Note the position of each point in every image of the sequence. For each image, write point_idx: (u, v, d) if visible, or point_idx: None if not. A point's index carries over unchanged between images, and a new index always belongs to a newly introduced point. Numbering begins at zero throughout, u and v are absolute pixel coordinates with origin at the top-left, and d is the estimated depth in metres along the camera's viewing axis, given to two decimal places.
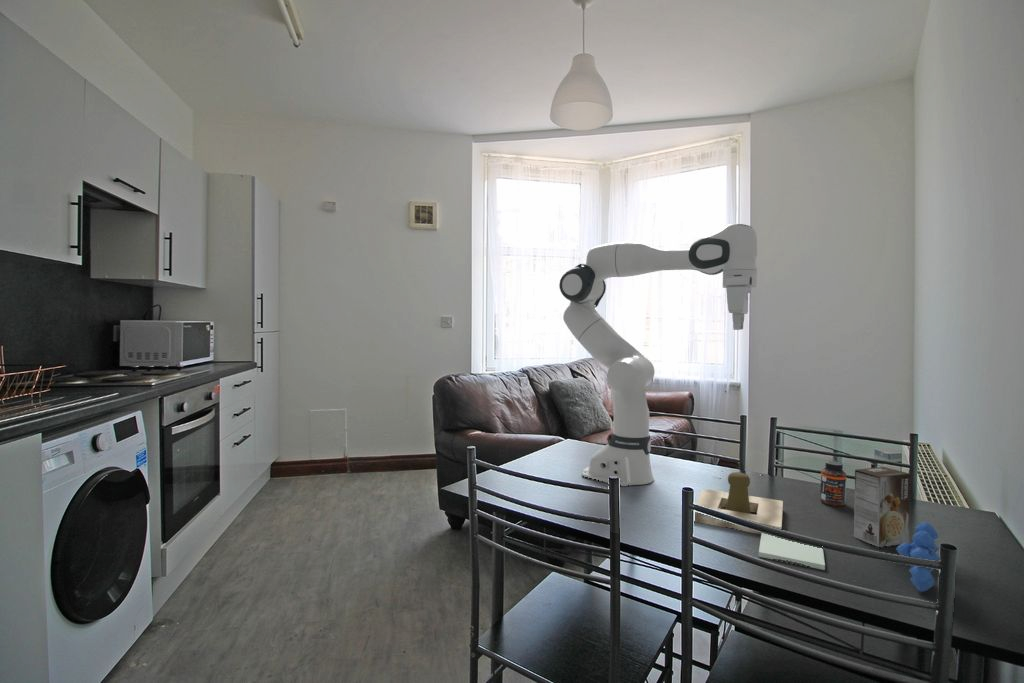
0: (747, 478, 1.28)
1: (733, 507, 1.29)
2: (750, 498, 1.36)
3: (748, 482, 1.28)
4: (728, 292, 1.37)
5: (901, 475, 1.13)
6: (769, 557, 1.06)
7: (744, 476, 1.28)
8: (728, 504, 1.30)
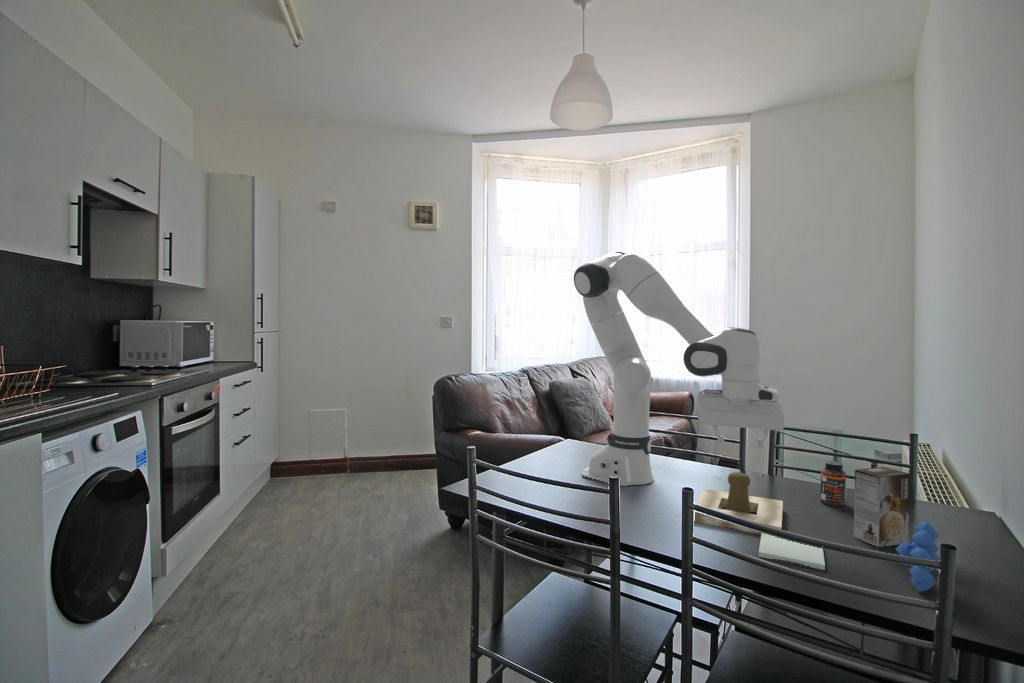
0: (747, 478, 1.28)
1: (733, 507, 1.29)
2: (750, 498, 1.36)
3: (748, 482, 1.28)
4: (782, 408, 1.23)
5: (901, 475, 1.13)
6: (769, 557, 1.06)
7: (744, 476, 1.28)
8: (728, 504, 1.30)
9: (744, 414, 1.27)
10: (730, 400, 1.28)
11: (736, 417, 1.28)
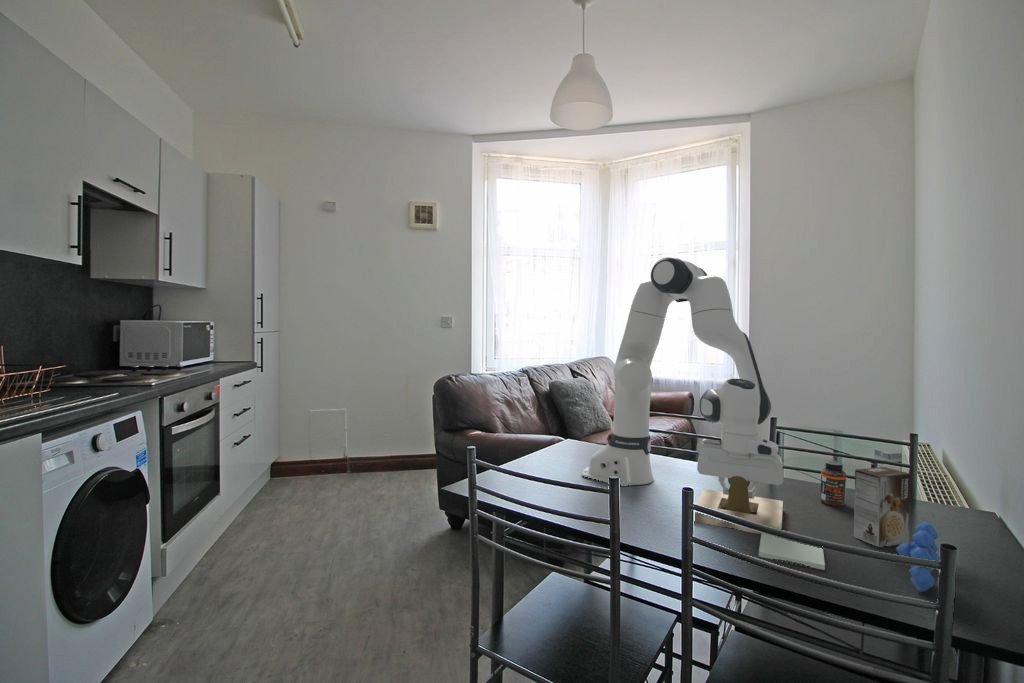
0: None
1: (733, 507, 1.29)
2: (750, 498, 1.36)
3: (748, 482, 1.28)
4: (780, 463, 1.24)
5: (901, 475, 1.13)
6: (769, 557, 1.06)
7: None
8: (728, 504, 1.30)
9: (743, 467, 1.28)
10: (729, 452, 1.29)
11: (735, 469, 1.29)
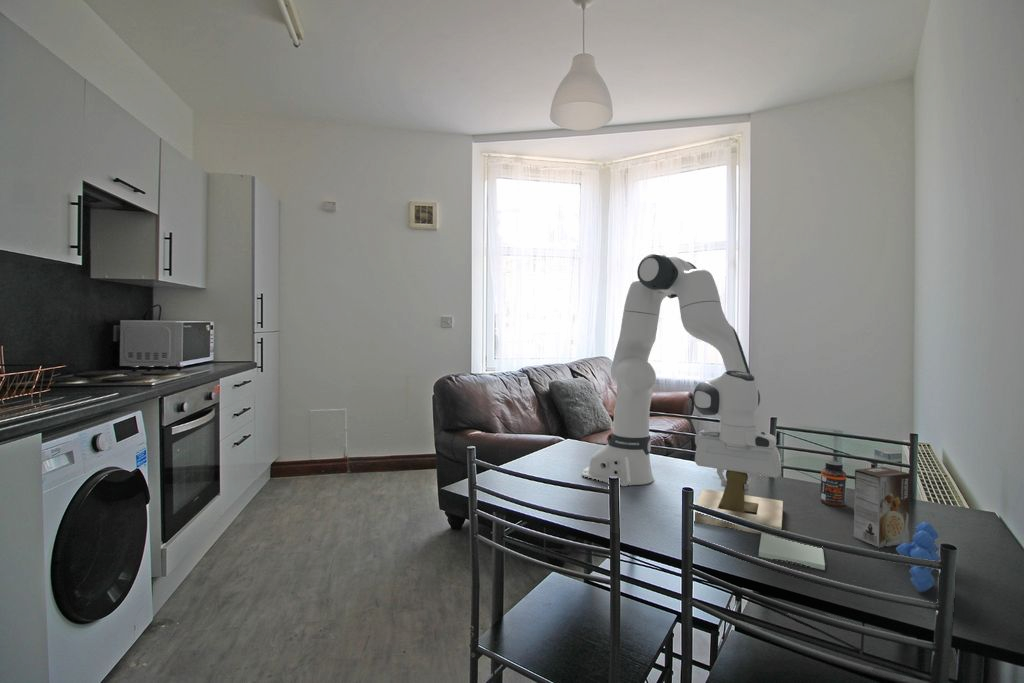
0: (745, 475, 1.28)
1: (728, 502, 1.29)
2: (750, 498, 1.36)
3: (746, 479, 1.28)
4: (778, 456, 1.23)
5: (901, 475, 1.13)
6: (769, 557, 1.06)
7: None
8: (723, 498, 1.30)
9: (741, 459, 1.27)
10: (727, 444, 1.29)
11: (732, 461, 1.28)
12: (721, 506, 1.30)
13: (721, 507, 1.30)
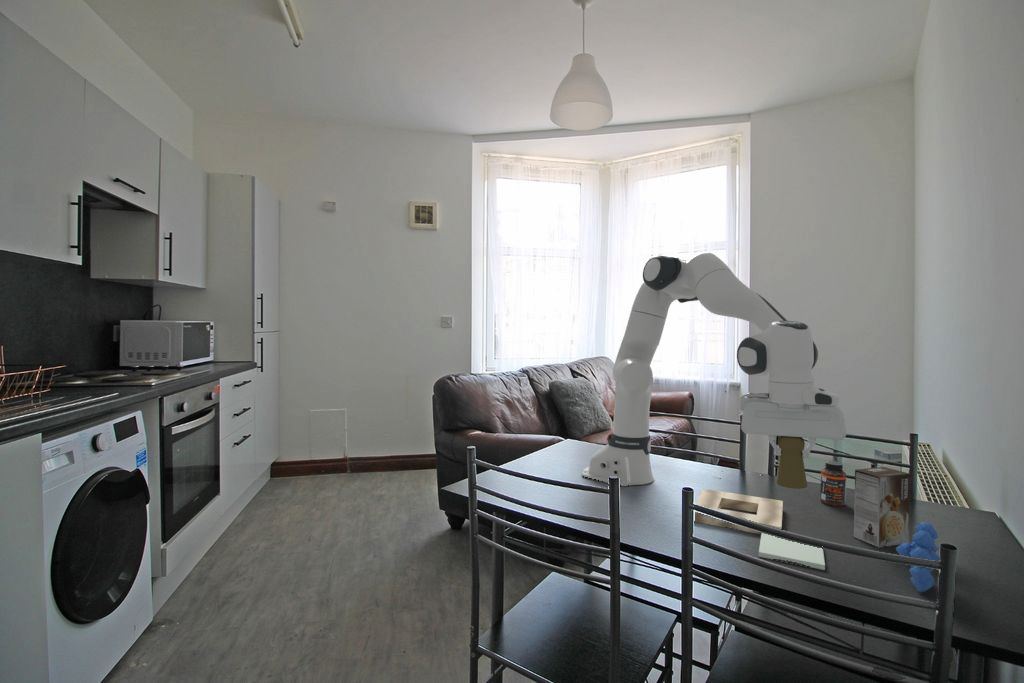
0: (802, 440, 1.10)
1: (787, 475, 1.10)
2: (750, 498, 1.36)
3: (803, 444, 1.10)
4: None
5: (901, 475, 1.13)
6: (769, 557, 1.06)
7: (798, 437, 1.10)
8: (780, 471, 1.12)
9: (797, 422, 1.10)
10: (780, 405, 1.11)
11: (787, 425, 1.10)
12: (779, 481, 1.12)
13: (779, 482, 1.12)
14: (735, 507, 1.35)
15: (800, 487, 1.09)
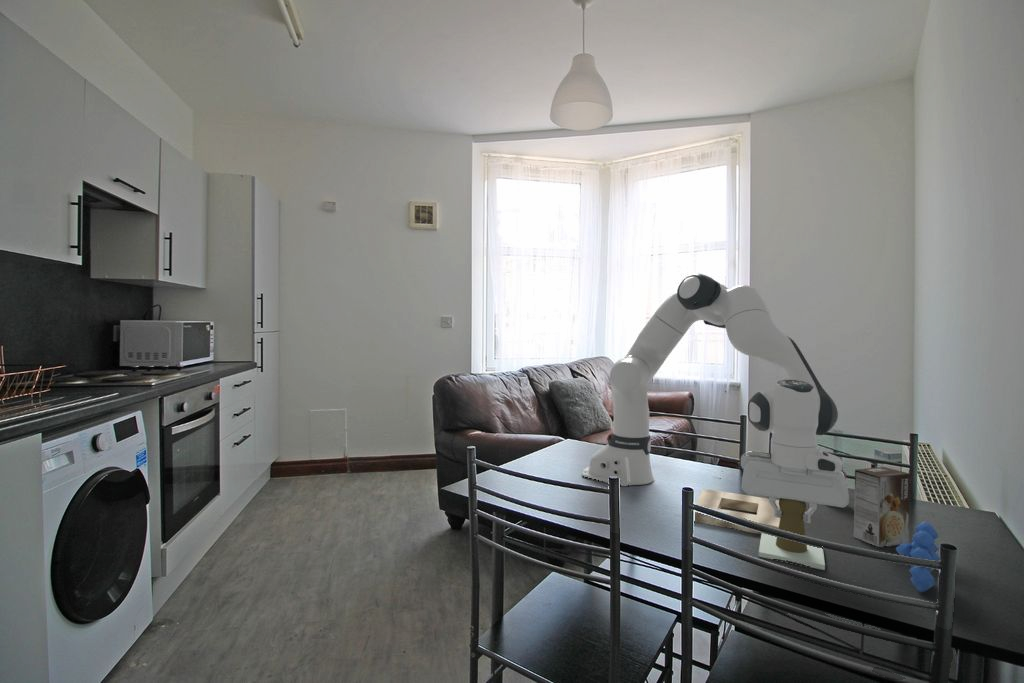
0: (803, 503, 1.08)
1: None
2: (750, 498, 1.36)
3: (804, 507, 1.08)
4: None
5: (901, 475, 1.13)
6: (769, 557, 1.06)
7: None
8: None
9: (799, 485, 1.07)
10: (781, 467, 1.08)
11: (788, 488, 1.08)
12: (778, 543, 1.10)
13: (779, 544, 1.10)
14: (735, 507, 1.35)
15: (799, 551, 1.07)
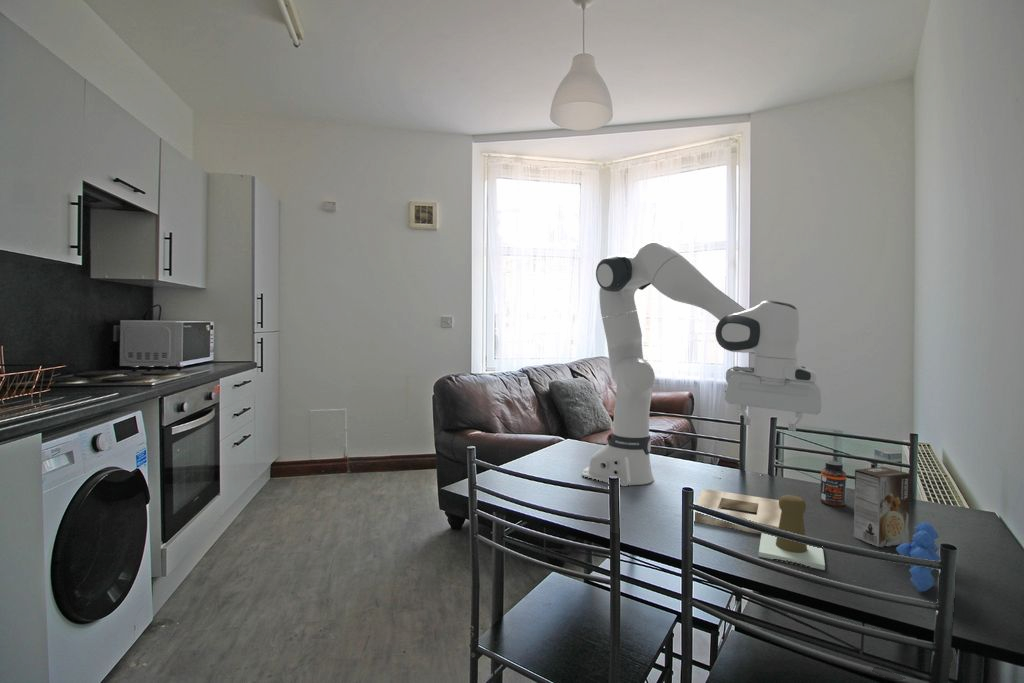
0: (803, 503, 1.08)
1: None
2: (750, 498, 1.36)
3: (804, 507, 1.08)
4: None
5: (901, 475, 1.13)
6: (769, 557, 1.06)
7: (799, 500, 1.08)
8: None
9: (777, 395, 1.17)
10: (762, 379, 1.18)
11: (767, 398, 1.18)
12: (778, 543, 1.10)
13: (779, 544, 1.10)
14: (735, 507, 1.35)
15: (799, 551, 1.07)
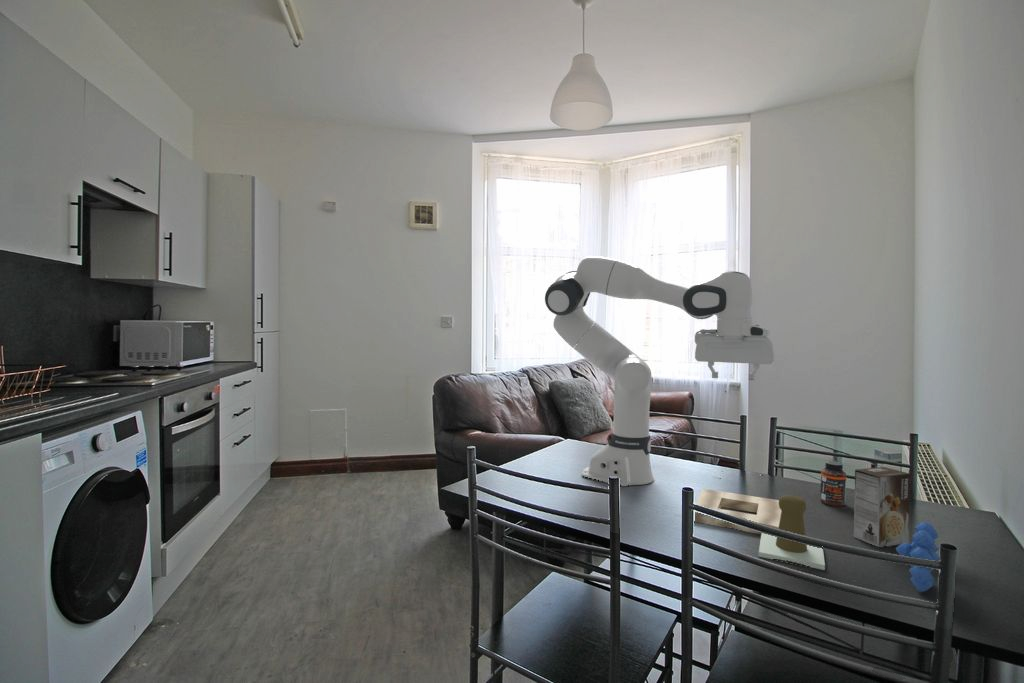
0: (803, 503, 1.08)
1: None
2: (750, 498, 1.36)
3: (804, 507, 1.08)
4: (771, 343, 1.34)
5: (901, 475, 1.13)
6: (769, 557, 1.06)
7: (799, 500, 1.08)
8: None
9: (737, 350, 1.39)
10: (724, 337, 1.40)
11: (729, 353, 1.40)
12: (778, 543, 1.10)
13: (779, 544, 1.10)
14: (735, 507, 1.35)
15: (799, 551, 1.07)
